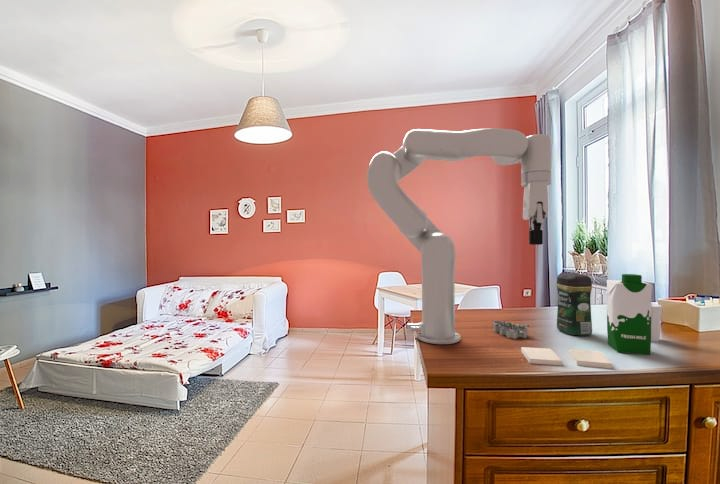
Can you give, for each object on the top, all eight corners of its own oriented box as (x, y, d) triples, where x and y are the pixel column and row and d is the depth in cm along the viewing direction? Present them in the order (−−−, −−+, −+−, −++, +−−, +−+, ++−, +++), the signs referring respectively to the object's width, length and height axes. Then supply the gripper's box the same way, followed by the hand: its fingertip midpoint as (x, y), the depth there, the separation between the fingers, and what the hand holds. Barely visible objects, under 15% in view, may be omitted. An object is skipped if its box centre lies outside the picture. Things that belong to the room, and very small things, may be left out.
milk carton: (614, 353, 88) (614, 275, 88) (602, 342, 97) (602, 272, 97) (656, 356, 86) (656, 276, 85) (640, 345, 94) (640, 272, 94)
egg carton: (531, 338, 103) (531, 325, 103) (508, 340, 102) (508, 326, 102) (511, 329, 113) (511, 317, 113) (490, 330, 112) (490, 318, 112)
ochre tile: (568, 355, 89) (576, 367, 81) (568, 348, 89) (576, 360, 81) (600, 357, 87) (612, 370, 78) (599, 351, 87) (612, 363, 78)
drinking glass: (662, 343, 96) (662, 307, 96) (632, 339, 100) (632, 305, 100) (660, 337, 101) (660, 303, 101) (631, 334, 105) (631, 301, 105)
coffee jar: (552, 328, 112) (551, 271, 112) (575, 328, 113) (575, 271, 113) (571, 337, 103) (571, 275, 103) (597, 336, 103) (597, 274, 103)
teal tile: (521, 353, 91) (529, 365, 82) (521, 347, 91) (529, 358, 82) (550, 354, 90) (562, 367, 81) (550, 348, 90) (562, 360, 81)
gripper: (517, 184, 106) (517, 244, 106) (526, 176, 92) (526, 245, 92) (544, 183, 104) (544, 243, 104) (557, 174, 90) (557, 245, 90)
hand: (535, 244), depth 98 cm, fingers closed
